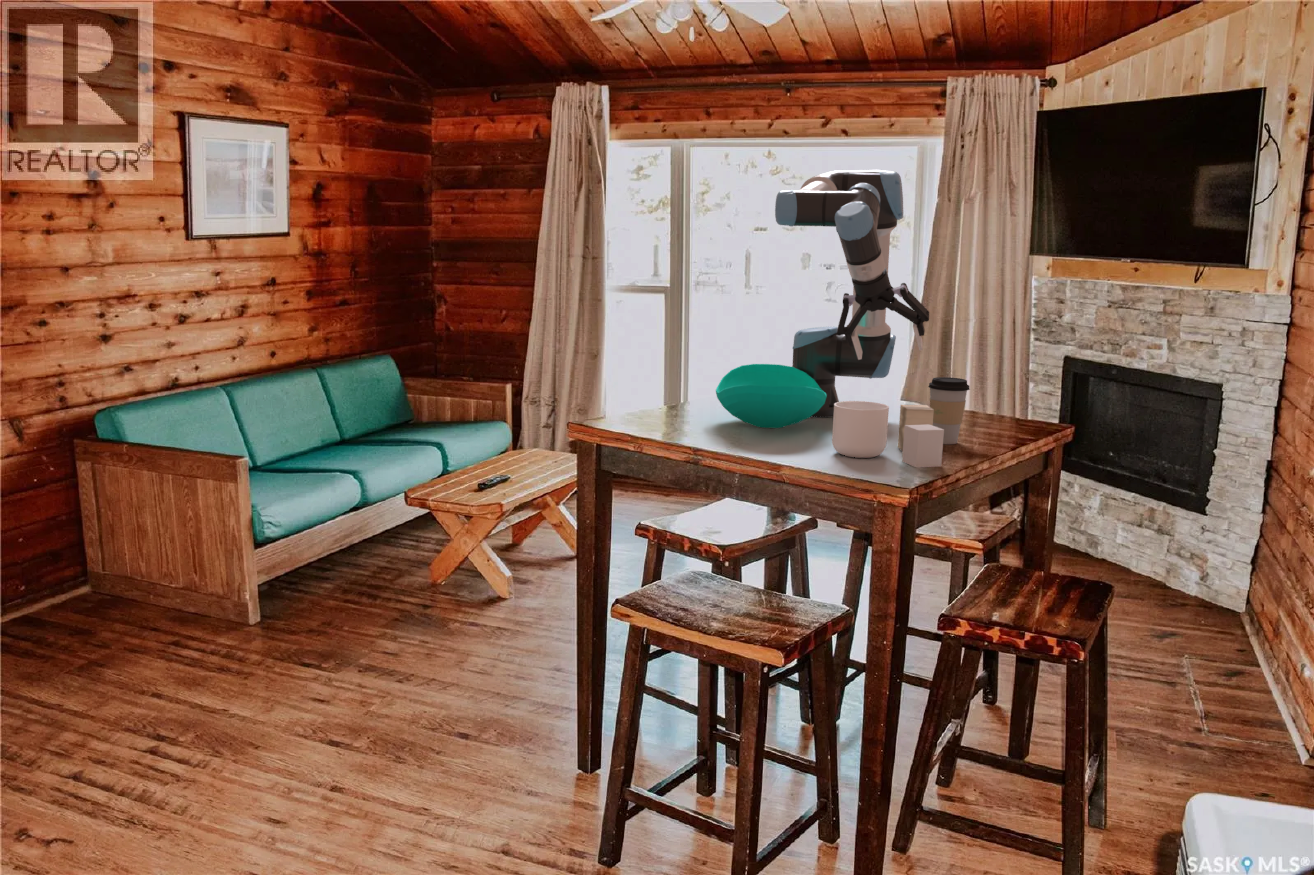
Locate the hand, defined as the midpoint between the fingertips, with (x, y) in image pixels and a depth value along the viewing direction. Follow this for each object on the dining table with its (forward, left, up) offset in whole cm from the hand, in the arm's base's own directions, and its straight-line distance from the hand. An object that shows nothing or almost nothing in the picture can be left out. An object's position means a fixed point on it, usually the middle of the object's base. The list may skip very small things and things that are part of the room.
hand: (890, 351), depth 232 cm
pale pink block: (+14, +5, -23) cm, 27 cm away
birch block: (0, +7, -23) cm, 24 cm away
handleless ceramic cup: (+6, -7, -23) cm, 25 cm away
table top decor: (-26, -23, -23) cm, 42 cm away
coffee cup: (-10, +17, -23) cm, 30 cm away
